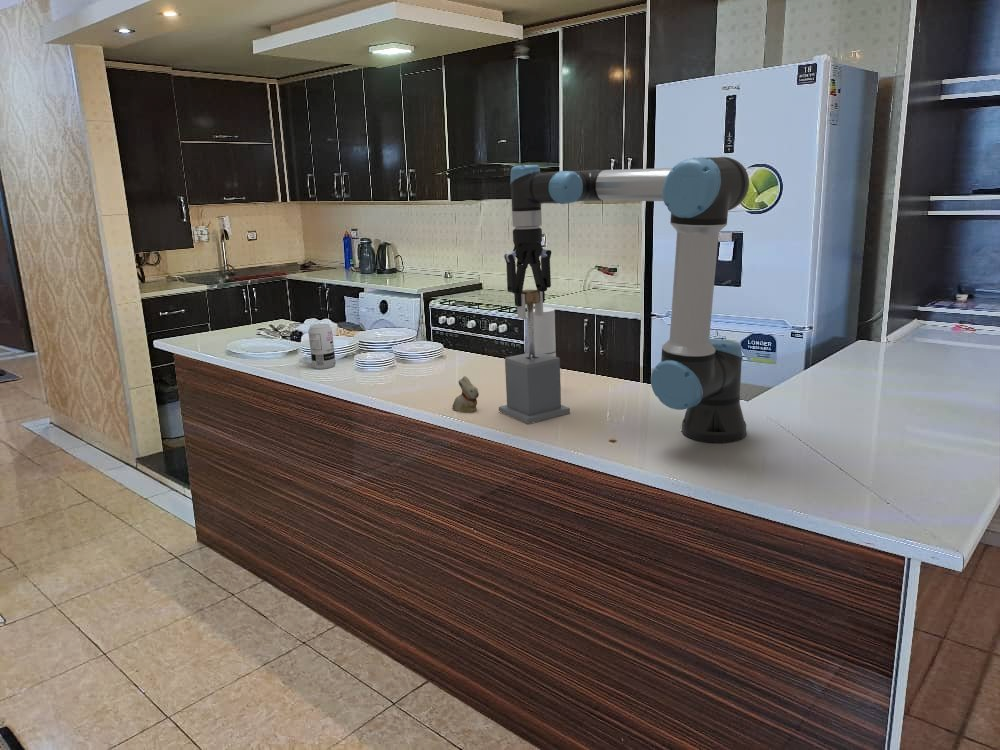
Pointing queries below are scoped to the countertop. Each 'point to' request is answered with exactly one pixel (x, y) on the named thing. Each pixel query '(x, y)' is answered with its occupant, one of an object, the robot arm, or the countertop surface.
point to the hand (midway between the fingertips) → (530, 316)
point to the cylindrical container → (545, 332)
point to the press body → (533, 388)
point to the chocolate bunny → (466, 397)
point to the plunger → (531, 318)
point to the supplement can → (321, 346)
